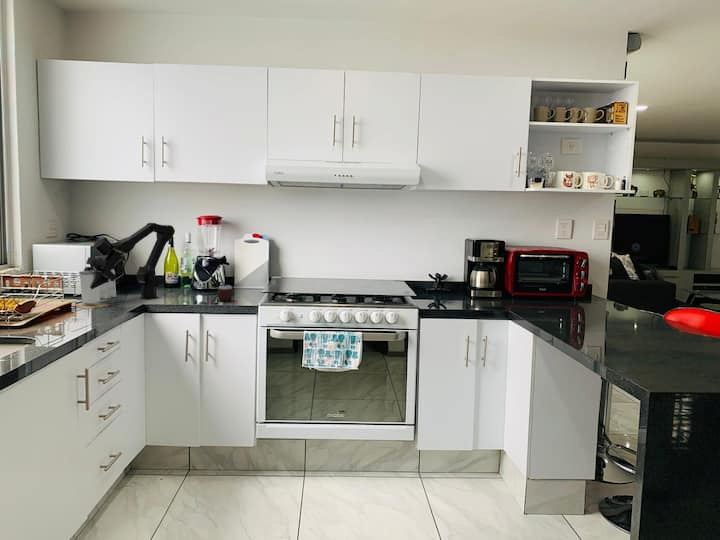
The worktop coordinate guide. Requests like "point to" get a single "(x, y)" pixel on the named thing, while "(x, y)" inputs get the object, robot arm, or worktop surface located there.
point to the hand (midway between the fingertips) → (87, 287)
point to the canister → (86, 282)
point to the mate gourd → (224, 292)
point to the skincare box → (108, 288)
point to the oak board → (91, 305)
